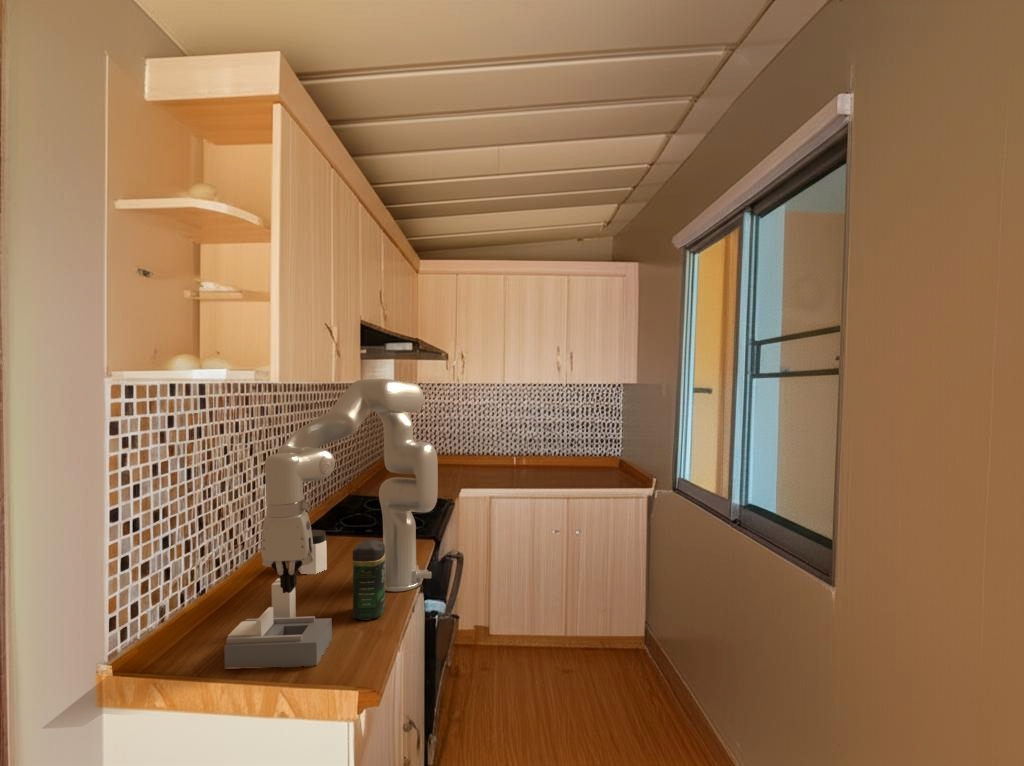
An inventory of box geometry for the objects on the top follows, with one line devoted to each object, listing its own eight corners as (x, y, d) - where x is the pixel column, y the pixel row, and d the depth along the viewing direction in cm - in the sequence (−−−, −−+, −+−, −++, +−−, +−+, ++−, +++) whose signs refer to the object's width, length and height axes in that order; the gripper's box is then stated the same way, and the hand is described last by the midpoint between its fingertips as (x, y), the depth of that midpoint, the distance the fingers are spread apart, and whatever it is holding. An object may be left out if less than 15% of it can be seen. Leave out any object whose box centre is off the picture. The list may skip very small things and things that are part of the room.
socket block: (331, 639, 129) (331, 613, 129) (316, 665, 117) (316, 637, 117) (248, 642, 127) (248, 617, 127) (224, 669, 115) (224, 641, 115)
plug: (295, 626, 136) (295, 568, 136) (290, 633, 132) (289, 573, 132) (278, 626, 136) (277, 568, 136) (272, 634, 132) (271, 574, 131)
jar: (294, 575, 172) (293, 537, 172) (302, 566, 180) (302, 530, 180) (322, 574, 172) (322, 536, 172) (330, 565, 181) (329, 529, 181)
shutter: (273, 623, 125) (273, 607, 125) (261, 637, 118) (261, 620, 118) (242, 624, 125) (241, 608, 125) (227, 639, 118) (227, 621, 118)
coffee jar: (381, 620, 138) (380, 547, 138) (349, 622, 138) (348, 548, 138) (388, 605, 148) (387, 536, 148) (358, 606, 148) (357, 537, 147)
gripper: (324, 503, 126) (327, 582, 127) (258, 506, 125) (261, 585, 126) (314, 512, 119) (317, 595, 119) (243, 515, 118) (247, 599, 119)
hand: (288, 590), depth 123 cm, fingers closed
